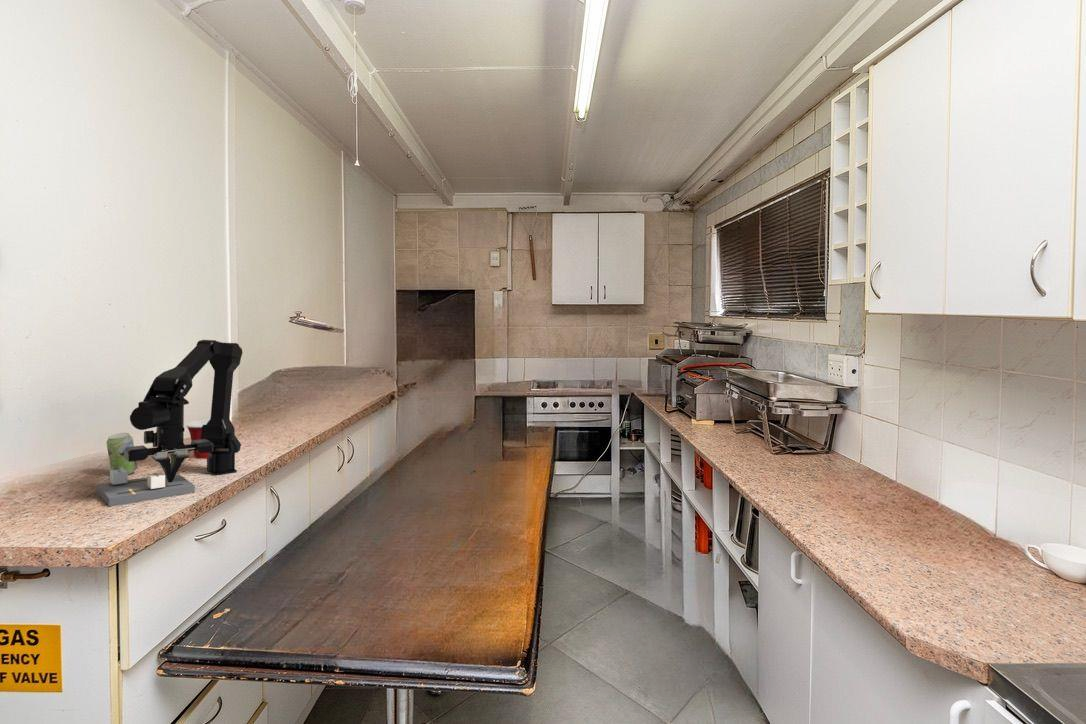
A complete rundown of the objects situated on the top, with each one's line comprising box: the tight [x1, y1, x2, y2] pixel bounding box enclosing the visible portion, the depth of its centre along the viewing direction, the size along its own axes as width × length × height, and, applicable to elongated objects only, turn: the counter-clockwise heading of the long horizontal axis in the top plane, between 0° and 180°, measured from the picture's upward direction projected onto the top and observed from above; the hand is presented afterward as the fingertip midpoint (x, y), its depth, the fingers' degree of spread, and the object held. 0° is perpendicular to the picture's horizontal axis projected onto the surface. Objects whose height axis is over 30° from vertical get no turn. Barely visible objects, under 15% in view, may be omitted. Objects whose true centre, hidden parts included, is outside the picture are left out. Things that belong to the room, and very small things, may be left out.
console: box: [96, 472, 196, 508], centre depth 142 cm, size 18×16×2 cm
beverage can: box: [105, 432, 138, 475], centre depth 157 cm, size 6×7×12 cm
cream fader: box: [146, 471, 165, 489], centre depth 140 cm, size 3×4×3 cm
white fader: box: [109, 469, 128, 485], centre depth 142 cm, size 3×4×3 cm
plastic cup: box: [185, 418, 210, 459], centre depth 182 cm, size 11×11×12 cm
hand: (170, 482), depth 142 cm, fingers closed
